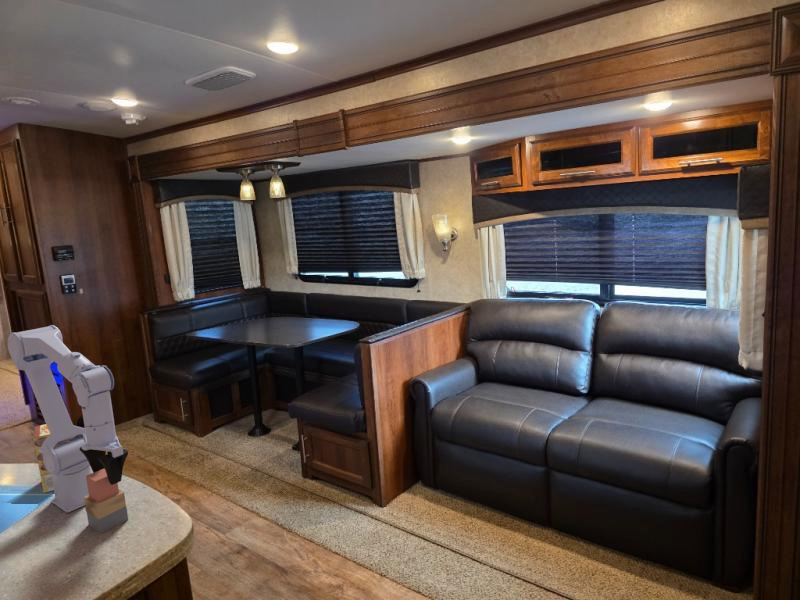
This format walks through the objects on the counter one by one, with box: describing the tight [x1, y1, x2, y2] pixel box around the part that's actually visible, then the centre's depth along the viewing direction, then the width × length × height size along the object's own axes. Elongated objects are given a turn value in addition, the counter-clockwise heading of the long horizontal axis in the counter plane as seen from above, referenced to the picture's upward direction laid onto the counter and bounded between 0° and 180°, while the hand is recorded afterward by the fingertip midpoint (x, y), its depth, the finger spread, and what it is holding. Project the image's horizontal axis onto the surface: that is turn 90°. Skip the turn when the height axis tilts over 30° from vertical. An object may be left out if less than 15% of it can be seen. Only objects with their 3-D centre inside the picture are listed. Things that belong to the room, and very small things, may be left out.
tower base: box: [86, 505, 129, 534], centre depth 118 cm, size 6×6×4 cm
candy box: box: [32, 423, 57, 494], centre depth 135 cm, size 9×4×15 cm, turn 33°
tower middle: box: [84, 489, 127, 519], centre depth 118 cm, size 6×6×4 cm
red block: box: [86, 468, 120, 502], centre depth 117 cm, size 4×4×5 cm
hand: (107, 477), depth 118 cm, fingers open, 7 cm apart
